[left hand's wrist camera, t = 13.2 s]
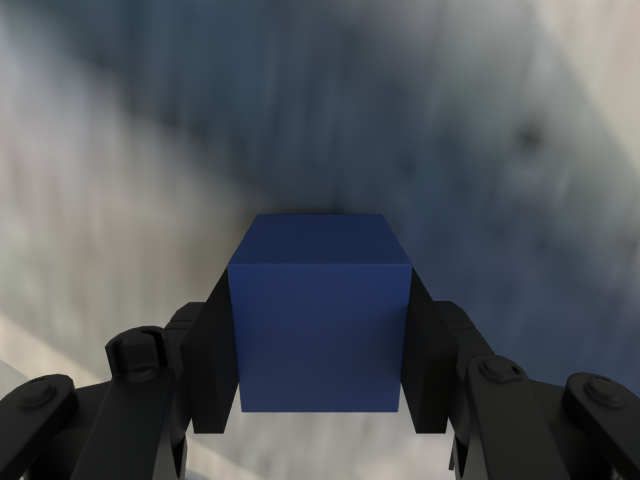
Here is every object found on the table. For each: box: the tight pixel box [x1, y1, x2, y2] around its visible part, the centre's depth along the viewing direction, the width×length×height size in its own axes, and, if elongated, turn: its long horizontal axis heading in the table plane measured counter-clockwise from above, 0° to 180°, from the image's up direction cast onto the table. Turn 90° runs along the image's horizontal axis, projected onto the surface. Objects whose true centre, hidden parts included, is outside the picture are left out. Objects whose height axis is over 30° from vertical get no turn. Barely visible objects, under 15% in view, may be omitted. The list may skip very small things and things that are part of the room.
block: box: [227, 214, 412, 412], centre depth 13 cm, size 5×5×5 cm
